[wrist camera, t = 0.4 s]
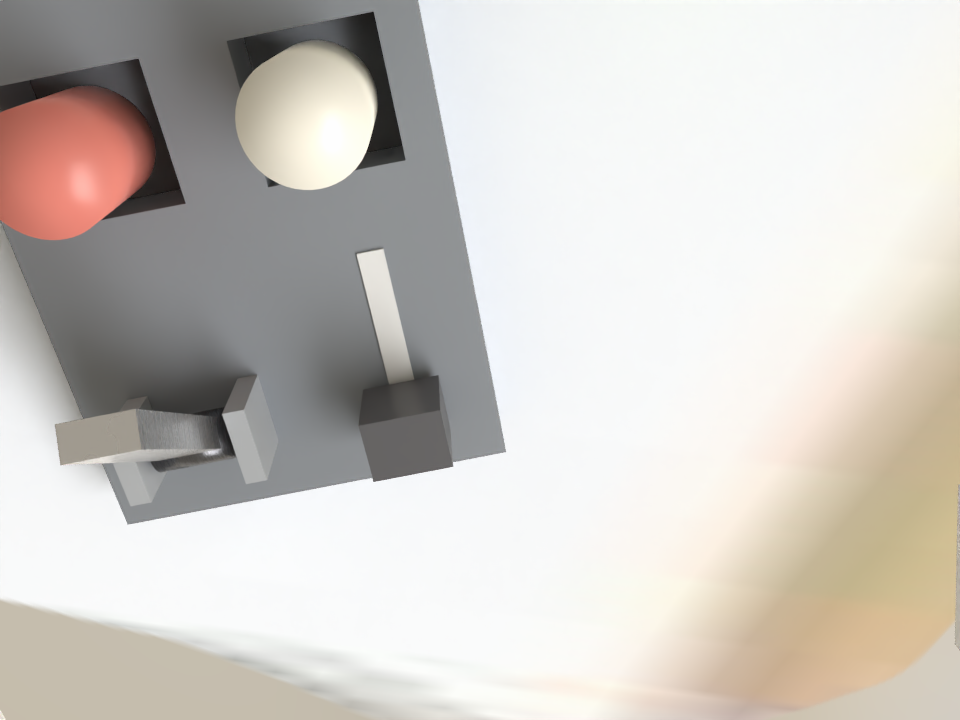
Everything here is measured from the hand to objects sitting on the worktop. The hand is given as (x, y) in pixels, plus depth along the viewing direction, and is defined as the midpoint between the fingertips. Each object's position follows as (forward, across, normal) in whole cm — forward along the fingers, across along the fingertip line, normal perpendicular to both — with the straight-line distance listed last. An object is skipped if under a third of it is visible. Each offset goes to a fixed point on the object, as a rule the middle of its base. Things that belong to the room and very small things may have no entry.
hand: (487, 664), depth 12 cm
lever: (+21, -11, -6) cm, 24 cm away
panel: (+25, -7, 0) cm, 26 cm away
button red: (+23, -11, +5) cm, 26 cm away
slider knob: (+22, -3, -7) cm, 23 cm away
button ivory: (+23, -3, +5) cm, 24 cm away
